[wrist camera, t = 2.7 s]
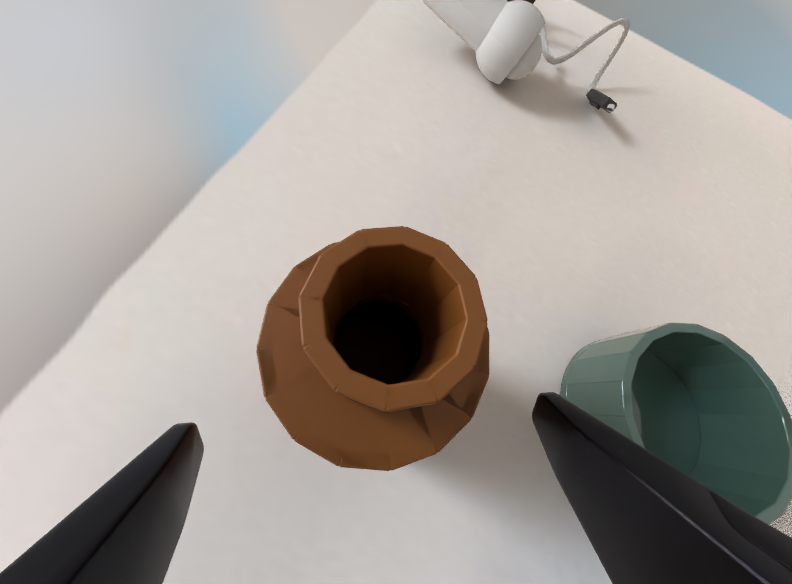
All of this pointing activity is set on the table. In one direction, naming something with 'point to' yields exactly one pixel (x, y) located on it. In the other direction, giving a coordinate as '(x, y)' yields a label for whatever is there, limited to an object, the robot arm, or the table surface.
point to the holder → (692, 409)
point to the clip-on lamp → (514, 39)
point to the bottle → (376, 349)
